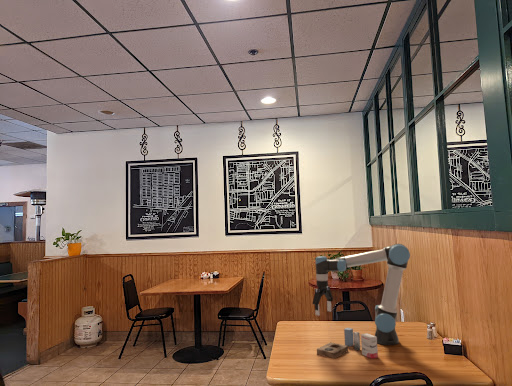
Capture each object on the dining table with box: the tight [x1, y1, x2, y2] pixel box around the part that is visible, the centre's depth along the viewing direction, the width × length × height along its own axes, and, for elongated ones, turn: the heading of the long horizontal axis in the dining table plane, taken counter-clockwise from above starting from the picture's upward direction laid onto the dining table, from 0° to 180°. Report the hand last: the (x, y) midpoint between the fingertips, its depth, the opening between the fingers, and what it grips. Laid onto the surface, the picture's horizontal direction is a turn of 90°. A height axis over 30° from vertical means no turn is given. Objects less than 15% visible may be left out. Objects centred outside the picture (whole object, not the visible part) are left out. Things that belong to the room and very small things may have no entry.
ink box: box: [360, 333, 379, 359], centre depth 215 cm, size 8×5×12 cm, turn 26°
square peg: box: [343, 327, 354, 347], centre depth 236 cm, size 4×4×10 cm
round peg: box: [353, 331, 361, 351], centre depth 227 cm, size 4×4×10 cm
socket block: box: [316, 342, 349, 359], centre depth 222 cm, size 12×16×3 cm
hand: (323, 313), depth 241 cm, fingers open, 13 cm apart
